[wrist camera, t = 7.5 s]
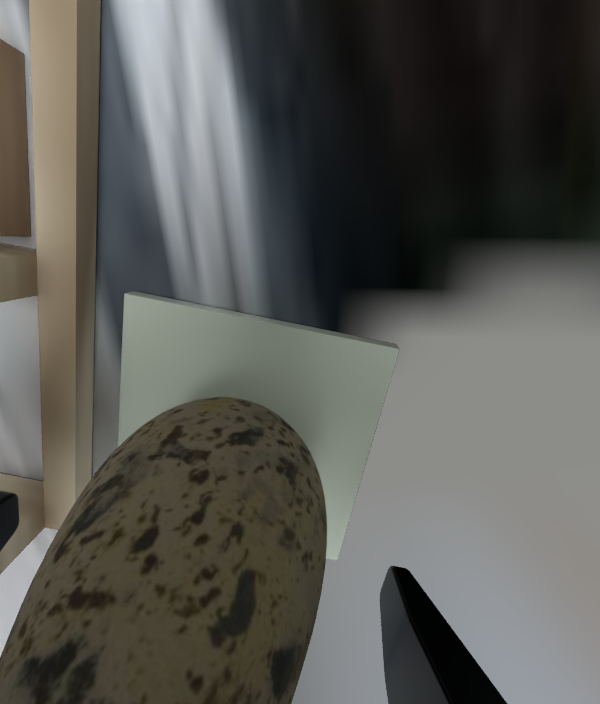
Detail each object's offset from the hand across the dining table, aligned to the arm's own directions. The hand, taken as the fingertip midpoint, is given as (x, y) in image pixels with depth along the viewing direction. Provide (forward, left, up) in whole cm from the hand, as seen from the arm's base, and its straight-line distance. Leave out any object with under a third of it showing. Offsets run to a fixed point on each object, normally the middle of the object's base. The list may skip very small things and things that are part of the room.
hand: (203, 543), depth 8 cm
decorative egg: (0, 0, -5) cm, 5 cm away
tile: (0, 0, -5) cm, 5 cm away
